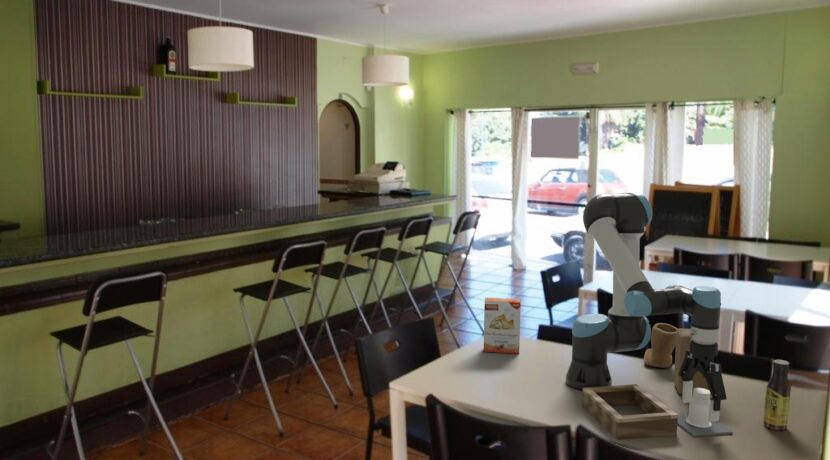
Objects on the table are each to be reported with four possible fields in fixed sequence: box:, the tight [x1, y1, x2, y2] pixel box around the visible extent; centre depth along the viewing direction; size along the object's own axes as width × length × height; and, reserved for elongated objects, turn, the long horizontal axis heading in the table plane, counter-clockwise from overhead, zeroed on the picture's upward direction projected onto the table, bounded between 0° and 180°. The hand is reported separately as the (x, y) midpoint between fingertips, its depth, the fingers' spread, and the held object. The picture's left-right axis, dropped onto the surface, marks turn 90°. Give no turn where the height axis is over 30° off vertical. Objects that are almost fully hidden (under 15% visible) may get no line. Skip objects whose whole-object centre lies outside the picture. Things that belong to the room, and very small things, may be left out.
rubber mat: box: [677, 412, 734, 438], centre depth 198 cm, size 14×12×1 cm
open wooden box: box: [581, 383, 679, 441], centre depth 202 cm, size 24×18×6 cm
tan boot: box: [643, 322, 678, 368], centre depth 251 cm, size 15×12×15 cm
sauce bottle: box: [762, 359, 792, 431], centre depth 195 cm, size 6×6×20 cm
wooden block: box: [673, 327, 711, 396], centre depth 223 cm, size 10×10×20 cm
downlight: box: [684, 388, 714, 428], centre depth 197 cm, size 8×7×10 cm
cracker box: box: [483, 297, 522, 355], centre depth 265 cm, size 14×6×21 cm, turn 80°
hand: (699, 411), depth 198 cm, fingers open, 13 cm apart
